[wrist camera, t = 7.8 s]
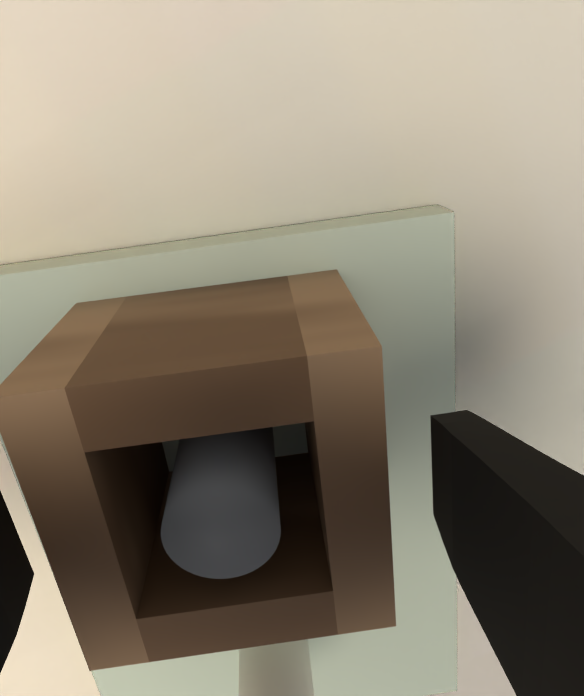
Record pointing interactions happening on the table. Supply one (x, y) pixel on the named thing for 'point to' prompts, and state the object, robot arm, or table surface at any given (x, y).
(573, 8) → the table surface
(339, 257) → the pale green peg board
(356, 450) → the wooden block with hole
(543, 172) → the table surface
